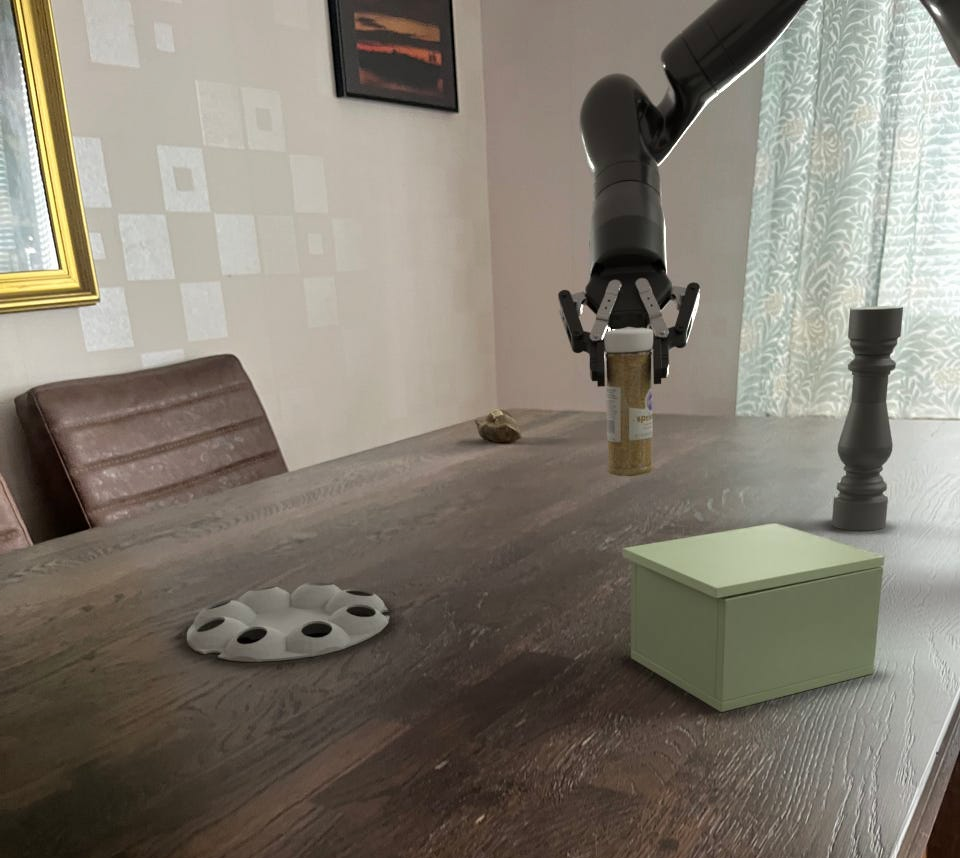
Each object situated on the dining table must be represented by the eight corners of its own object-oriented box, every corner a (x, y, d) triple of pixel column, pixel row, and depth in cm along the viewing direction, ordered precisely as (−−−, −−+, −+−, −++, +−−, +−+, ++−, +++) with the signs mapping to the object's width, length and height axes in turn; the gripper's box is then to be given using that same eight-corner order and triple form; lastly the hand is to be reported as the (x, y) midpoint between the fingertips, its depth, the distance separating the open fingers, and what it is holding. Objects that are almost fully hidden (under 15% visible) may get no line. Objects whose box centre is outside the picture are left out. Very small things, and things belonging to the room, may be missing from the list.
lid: (715, 598, 70) (716, 588, 70) (622, 557, 81) (622, 547, 81) (883, 566, 76) (884, 556, 76) (775, 531, 87) (775, 522, 87)
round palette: (424, 630, 94) (422, 610, 93) (219, 679, 85) (215, 657, 84) (344, 581, 110) (342, 564, 109) (164, 618, 101) (161, 599, 101)
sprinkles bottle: (653, 476, 95) (653, 329, 91) (605, 477, 96) (603, 332, 92) (653, 467, 100) (653, 326, 95) (607, 468, 100) (605, 328, 96)
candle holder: (880, 532, 117) (900, 308, 108) (825, 528, 120) (841, 310, 112) (890, 520, 122) (910, 305, 113) (838, 516, 125) (854, 306, 116)
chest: (721, 712, 74) (725, 599, 71) (630, 658, 85) (630, 558, 82) (873, 673, 79) (883, 566, 76) (770, 627, 90) (775, 532, 87)
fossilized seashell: (464, 427, 193) (487, 443, 185) (481, 397, 192) (505, 411, 184) (493, 443, 197) (517, 459, 190) (510, 413, 196) (534, 427, 188)
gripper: (553, 217, 98) (549, 357, 91) (703, 207, 95) (711, 349, 89) (558, 274, 104) (555, 408, 97) (698, 265, 102) (705, 401, 95)
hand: (629, 379), depth 93 cm, fingers closed on sprinkles bottle, 4 cm apart
